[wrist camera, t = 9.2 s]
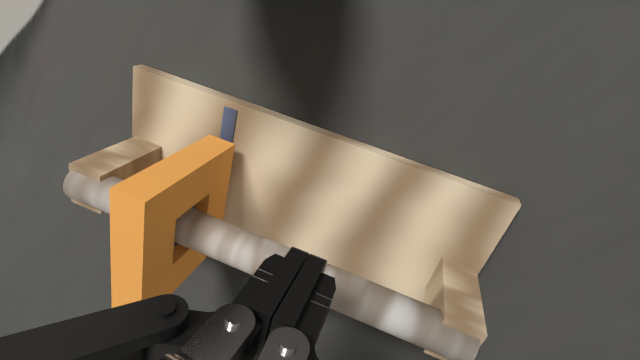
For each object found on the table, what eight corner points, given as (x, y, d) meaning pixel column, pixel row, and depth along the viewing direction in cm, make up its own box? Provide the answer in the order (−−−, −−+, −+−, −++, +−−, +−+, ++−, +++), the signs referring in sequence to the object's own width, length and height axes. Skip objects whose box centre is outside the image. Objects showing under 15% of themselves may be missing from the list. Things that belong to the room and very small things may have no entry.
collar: (235, 144, 25) (144, 202, 17) (219, 243, 29) (140, 326, 22) (209, 134, 26) (109, 187, 18) (197, 234, 30) (111, 313, 22)
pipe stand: (518, 198, 23) (554, 276, 16) (431, 338, 30) (431, 437, 23) (142, 64, 27) (40, 81, 20) (139, 215, 34) (61, 267, 27)
